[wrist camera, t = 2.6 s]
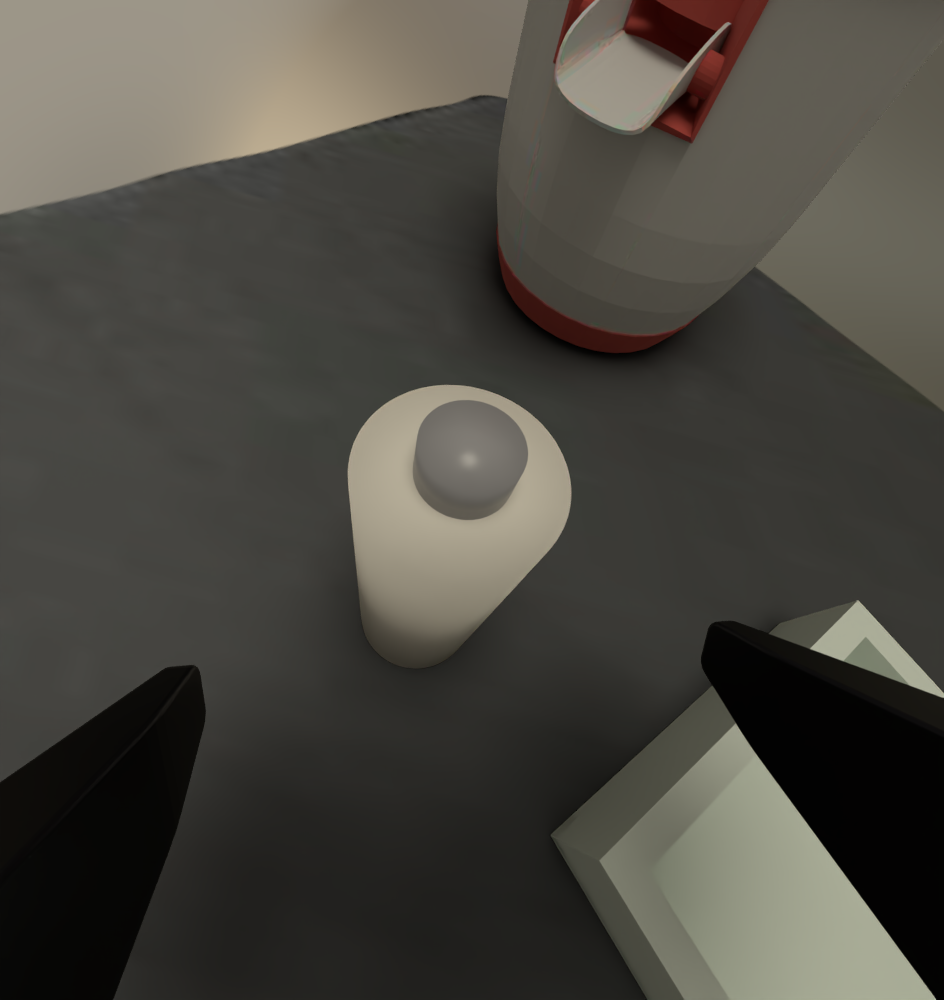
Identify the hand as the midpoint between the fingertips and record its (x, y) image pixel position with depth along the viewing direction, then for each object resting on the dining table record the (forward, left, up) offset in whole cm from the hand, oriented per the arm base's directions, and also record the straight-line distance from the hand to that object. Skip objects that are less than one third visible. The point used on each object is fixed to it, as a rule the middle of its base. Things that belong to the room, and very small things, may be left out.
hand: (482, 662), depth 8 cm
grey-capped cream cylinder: (+2, +3, -10) cm, 11 cm away
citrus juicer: (+21, +15, -11) cm, 28 cm away
